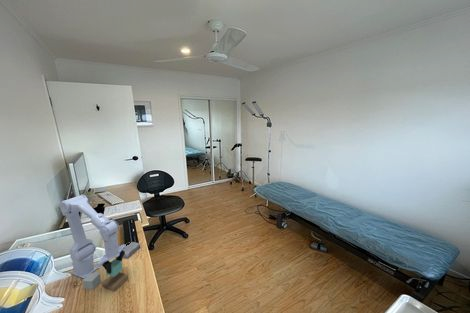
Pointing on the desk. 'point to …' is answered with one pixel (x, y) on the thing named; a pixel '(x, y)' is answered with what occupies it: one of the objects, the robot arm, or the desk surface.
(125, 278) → the walnut base block
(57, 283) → the desk surface
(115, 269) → the teal cube
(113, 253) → the robot arm
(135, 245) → the stone block
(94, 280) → the grey cube
